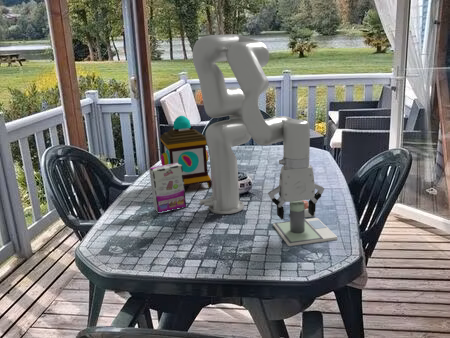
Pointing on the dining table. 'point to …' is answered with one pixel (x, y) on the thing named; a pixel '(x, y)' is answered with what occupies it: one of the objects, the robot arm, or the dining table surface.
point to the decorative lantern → (186, 151)
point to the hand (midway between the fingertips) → (296, 216)
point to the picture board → (305, 232)
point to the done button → (305, 204)
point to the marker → (297, 217)
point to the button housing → (307, 213)
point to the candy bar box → (167, 187)
